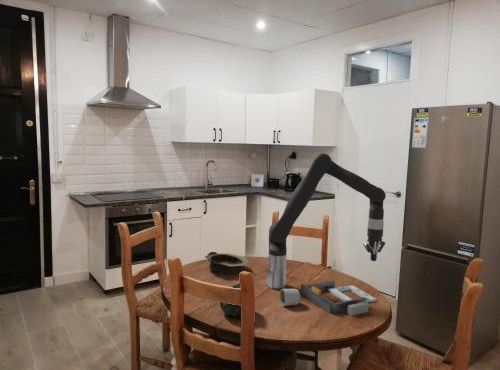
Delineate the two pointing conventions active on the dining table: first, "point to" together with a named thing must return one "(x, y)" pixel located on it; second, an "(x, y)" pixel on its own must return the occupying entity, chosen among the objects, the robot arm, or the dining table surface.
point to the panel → (358, 308)
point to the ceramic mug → (290, 297)
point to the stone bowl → (225, 262)
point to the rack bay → (315, 295)
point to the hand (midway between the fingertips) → (373, 260)
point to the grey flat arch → (354, 289)
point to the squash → (231, 306)
